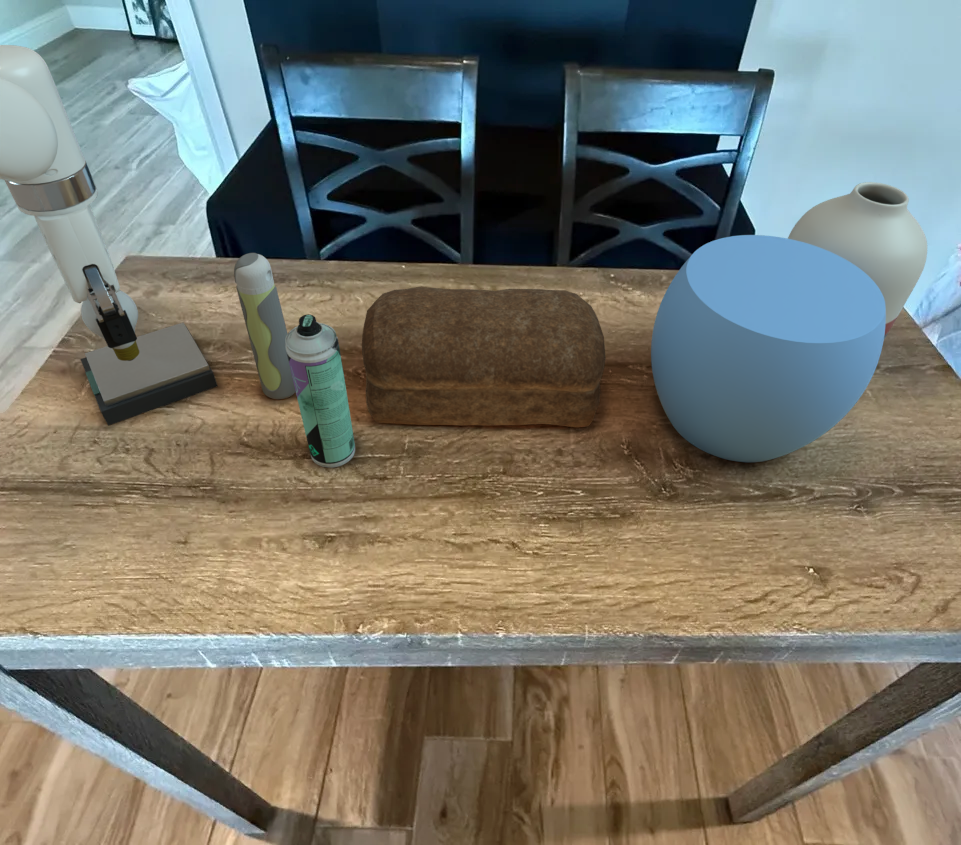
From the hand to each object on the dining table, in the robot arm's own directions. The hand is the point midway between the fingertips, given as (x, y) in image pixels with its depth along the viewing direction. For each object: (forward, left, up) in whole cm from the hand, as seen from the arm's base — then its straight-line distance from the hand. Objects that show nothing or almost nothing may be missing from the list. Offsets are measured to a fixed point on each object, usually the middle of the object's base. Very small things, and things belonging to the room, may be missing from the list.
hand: (115, 327), depth 81 cm
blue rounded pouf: (+64, -44, -12) cm, 78 cm away
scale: (+2, +3, -11) cm, 12 cm away
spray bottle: (+16, -8, -12) cm, 21 cm away
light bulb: (0, 0, -5) cm, 5 cm away
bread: (+39, -22, -12) cm, 46 cm away
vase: (+86, -40, -12) cm, 95 cm away
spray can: (+17, -22, -12) cm, 30 cm away
